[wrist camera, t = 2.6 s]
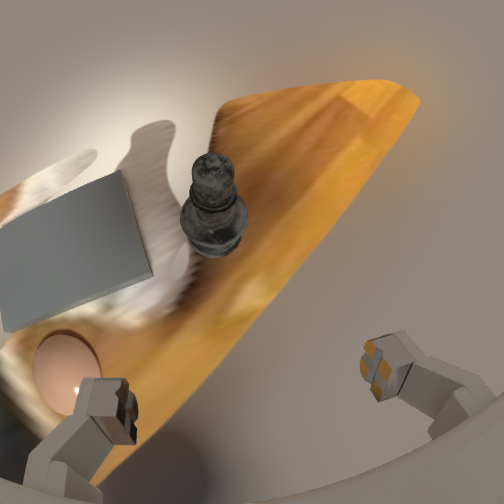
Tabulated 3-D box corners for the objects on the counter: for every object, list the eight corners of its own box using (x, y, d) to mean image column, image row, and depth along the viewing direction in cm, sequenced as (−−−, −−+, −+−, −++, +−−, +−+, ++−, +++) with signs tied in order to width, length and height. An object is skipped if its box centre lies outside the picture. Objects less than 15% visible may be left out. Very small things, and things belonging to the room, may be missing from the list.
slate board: (11, 333, 22) (3, 331, 21) (0, 236, 25) (-6, 232, 24) (153, 276, 26) (149, 272, 25) (124, 177, 30) (120, 169, 28)
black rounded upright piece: (207, 195, 30) (202, 109, 18) (256, 224, 29) (277, 145, 18) (172, 240, 28) (145, 166, 16) (223, 272, 27) (226, 212, 16)
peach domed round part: (54, 420, 20) (49, 422, 19) (29, 347, 22) (24, 346, 22) (116, 404, 22) (113, 406, 21) (88, 325, 24) (83, 324, 23)
